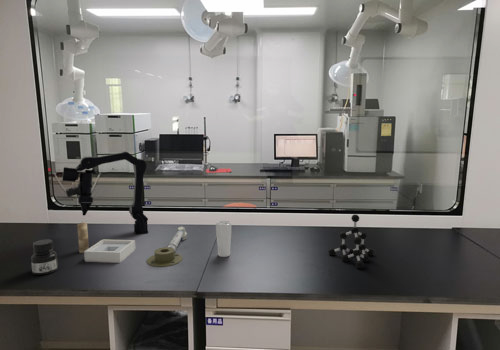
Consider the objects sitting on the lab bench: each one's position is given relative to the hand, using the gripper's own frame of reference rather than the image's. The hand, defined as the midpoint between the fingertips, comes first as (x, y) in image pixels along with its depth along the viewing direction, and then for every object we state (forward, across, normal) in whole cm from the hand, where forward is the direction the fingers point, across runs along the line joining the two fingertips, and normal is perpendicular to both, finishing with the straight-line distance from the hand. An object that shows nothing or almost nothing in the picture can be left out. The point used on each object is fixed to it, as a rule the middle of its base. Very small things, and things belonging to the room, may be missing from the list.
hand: (83, 213), depth 173 cm
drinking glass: (+7, +52, +54) cm, 76 cm away
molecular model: (+1, +83, +104) cm, 133 cm away
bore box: (+13, +28, +10) cm, 33 cm away
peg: (+14, +17, 0) cm, 22 cm away
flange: (+11, +45, +30) cm, 55 cm away
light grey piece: (+9, +30, +40) cm, 50 cm away
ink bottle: (+16, +33, -14) cm, 40 cm away
